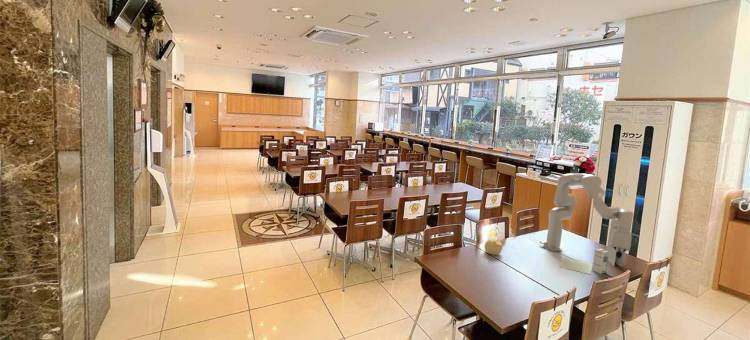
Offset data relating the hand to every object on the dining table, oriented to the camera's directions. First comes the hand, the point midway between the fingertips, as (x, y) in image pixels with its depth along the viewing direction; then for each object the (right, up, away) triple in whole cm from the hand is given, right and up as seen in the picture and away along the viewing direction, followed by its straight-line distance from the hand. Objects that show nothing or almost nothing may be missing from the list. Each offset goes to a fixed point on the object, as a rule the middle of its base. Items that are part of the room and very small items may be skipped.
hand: (618, 257), depth 227 cm
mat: (-19, -9, +14) cm, 25 cm away
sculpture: (-71, -4, +28) cm, 76 cm away
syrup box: (-8, -11, +7) cm, 15 cm away
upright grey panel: (+12, -10, +23) cm, 28 cm away
